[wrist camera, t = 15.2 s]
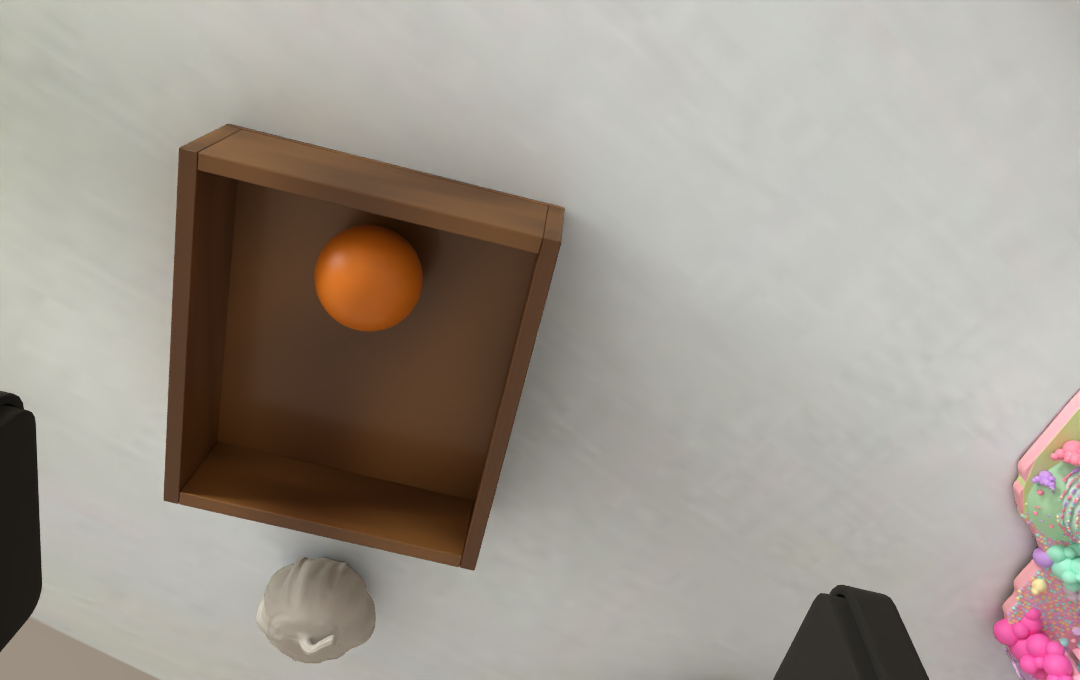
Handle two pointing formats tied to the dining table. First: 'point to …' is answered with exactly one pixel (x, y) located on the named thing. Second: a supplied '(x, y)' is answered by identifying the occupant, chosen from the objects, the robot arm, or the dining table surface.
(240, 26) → the dining table surface
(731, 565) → the dining table surface
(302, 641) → the garlic
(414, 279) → the mandarin
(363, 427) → the wooden tray
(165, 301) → the dining table surface
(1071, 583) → the colourful coral reef
